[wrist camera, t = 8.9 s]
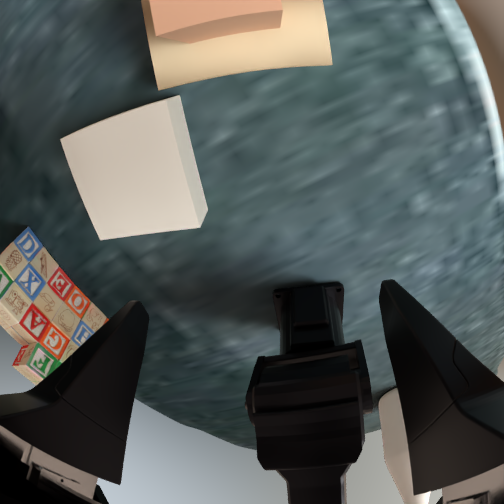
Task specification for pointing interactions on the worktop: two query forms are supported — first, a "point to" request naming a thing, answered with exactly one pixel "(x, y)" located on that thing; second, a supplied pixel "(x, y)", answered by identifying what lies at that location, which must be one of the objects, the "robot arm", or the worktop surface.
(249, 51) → the birch slab
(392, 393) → the wine bottle
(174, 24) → the terracotta cube
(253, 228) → the worktop surface
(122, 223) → the white plastic slab
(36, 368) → the stack of blocks
